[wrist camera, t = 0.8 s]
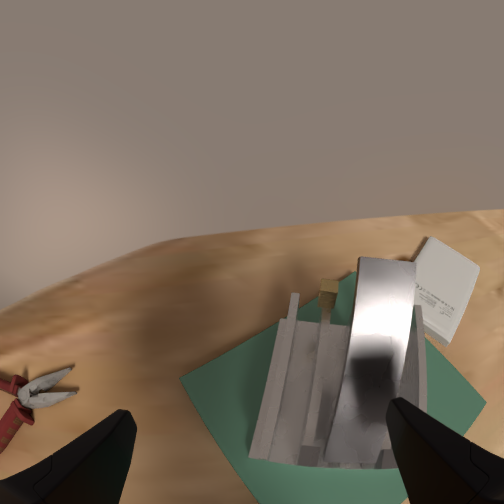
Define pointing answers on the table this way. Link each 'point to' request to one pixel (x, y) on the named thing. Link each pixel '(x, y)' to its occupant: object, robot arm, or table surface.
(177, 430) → the table surface
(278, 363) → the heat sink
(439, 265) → the external hard drive
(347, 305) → the green square mat
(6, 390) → the pliers
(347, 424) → the dark metal plate
